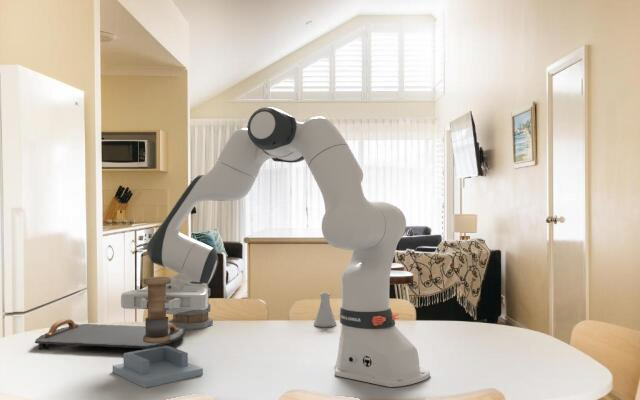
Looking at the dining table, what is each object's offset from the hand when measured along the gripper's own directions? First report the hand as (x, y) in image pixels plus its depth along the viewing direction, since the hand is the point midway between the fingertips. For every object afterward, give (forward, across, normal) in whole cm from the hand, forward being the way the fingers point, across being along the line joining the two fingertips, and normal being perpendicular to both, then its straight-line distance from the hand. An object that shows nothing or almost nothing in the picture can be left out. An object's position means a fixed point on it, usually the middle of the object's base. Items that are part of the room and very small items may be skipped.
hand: (155, 305), depth 139 cm
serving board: (-29, -21, +16) cm, 39 cm away
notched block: (-1, 0, +16) cm, 16 cm away
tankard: (-57, -5, +16) cm, 59 cm away
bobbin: (-1, 0, +8) cm, 8 cm away
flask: (-55, +36, +16) cm, 68 cm away
